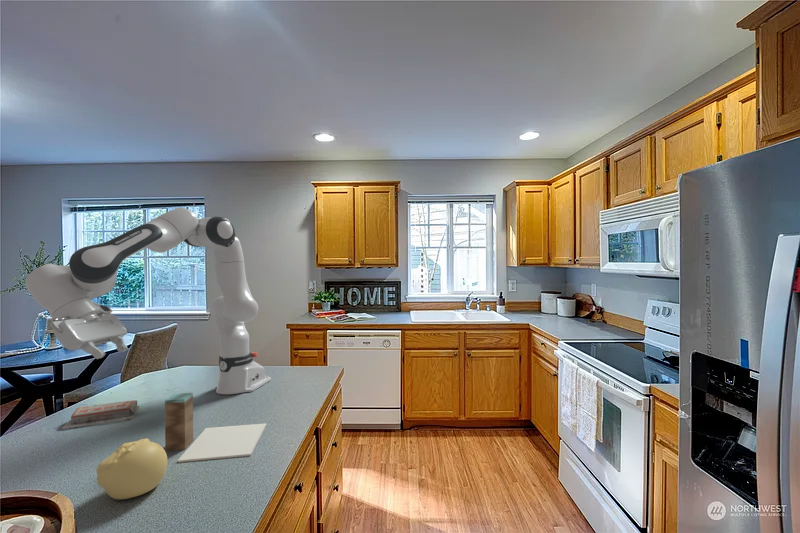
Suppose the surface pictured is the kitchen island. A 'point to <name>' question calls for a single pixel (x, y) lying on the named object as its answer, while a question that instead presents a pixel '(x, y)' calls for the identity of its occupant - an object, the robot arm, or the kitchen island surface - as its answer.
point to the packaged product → (102, 414)
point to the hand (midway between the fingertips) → (113, 353)
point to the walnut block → (178, 421)
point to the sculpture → (132, 469)
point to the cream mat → (224, 442)
